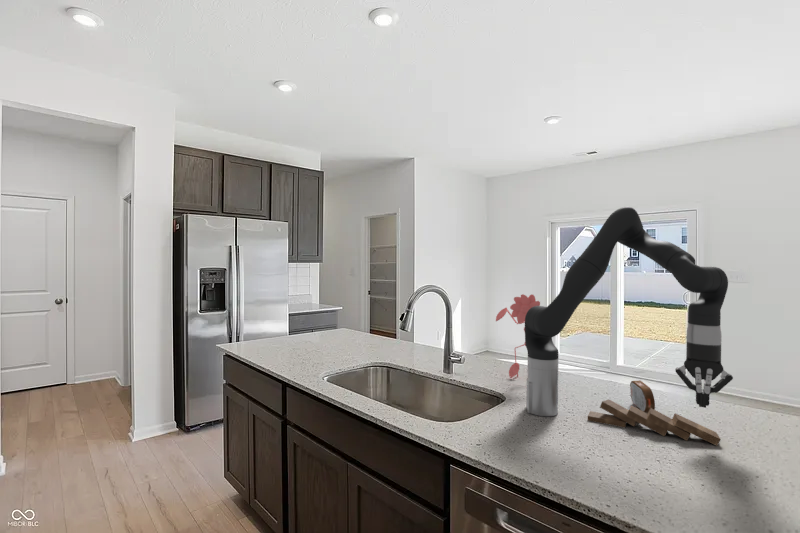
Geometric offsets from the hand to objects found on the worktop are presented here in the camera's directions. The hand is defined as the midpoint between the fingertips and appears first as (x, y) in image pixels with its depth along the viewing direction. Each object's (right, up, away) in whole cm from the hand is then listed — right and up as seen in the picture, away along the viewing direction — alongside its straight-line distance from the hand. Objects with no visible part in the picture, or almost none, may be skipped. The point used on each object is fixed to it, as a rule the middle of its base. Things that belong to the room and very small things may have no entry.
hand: (702, 406), depth 111 cm
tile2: (-12, -8, +9) cm, 17 cm away
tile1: (-15, -9, +11) cm, 20 cm away
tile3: (-7, -8, +4) cm, 11 cm away
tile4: (-3, -8, +2) cm, 9 cm away
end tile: (+3, -8, -1) cm, 9 cm away
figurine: (-31, -9, +56) cm, 64 cm away
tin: (-2, -9, +24) cm, 26 cm away
